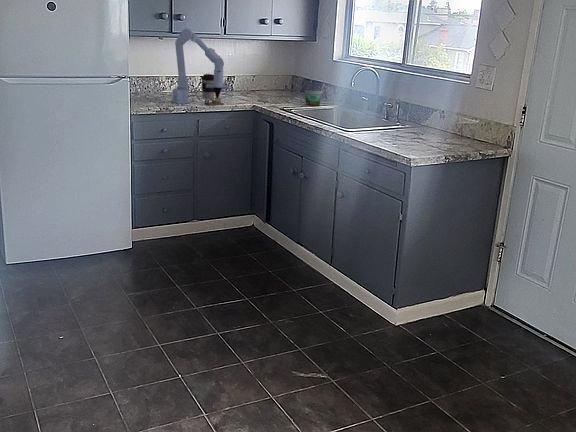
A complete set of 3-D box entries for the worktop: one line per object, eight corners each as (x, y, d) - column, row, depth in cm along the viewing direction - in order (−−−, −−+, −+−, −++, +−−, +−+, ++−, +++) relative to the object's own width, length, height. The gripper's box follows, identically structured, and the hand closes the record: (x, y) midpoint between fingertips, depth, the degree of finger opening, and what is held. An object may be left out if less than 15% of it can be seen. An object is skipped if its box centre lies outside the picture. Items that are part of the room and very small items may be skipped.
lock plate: (209, 105, 395) (209, 100, 394) (204, 104, 399) (204, 98, 398) (223, 104, 402) (224, 99, 401) (218, 103, 406) (219, 97, 405)
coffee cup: (205, 99, 417) (206, 75, 412) (197, 96, 424) (198, 73, 419) (218, 98, 423) (219, 75, 418) (210, 96, 430) (211, 73, 425)
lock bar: (212, 102, 399) (212, 98, 398) (211, 101, 401) (211, 97, 400) (221, 102, 402) (221, 98, 401) (219, 101, 403) (219, 97, 403)
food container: (306, 106, 419) (307, 90, 415) (303, 104, 424) (304, 89, 421) (324, 106, 422) (325, 91, 419) (321, 105, 427) (322, 90, 424)
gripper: (205, 77, 395) (204, 100, 399) (229, 79, 394) (228, 102, 399) (207, 76, 401) (206, 98, 406) (230, 78, 401) (229, 100, 405)
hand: (217, 100), depth 403 cm, fingers closed, pressing on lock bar
